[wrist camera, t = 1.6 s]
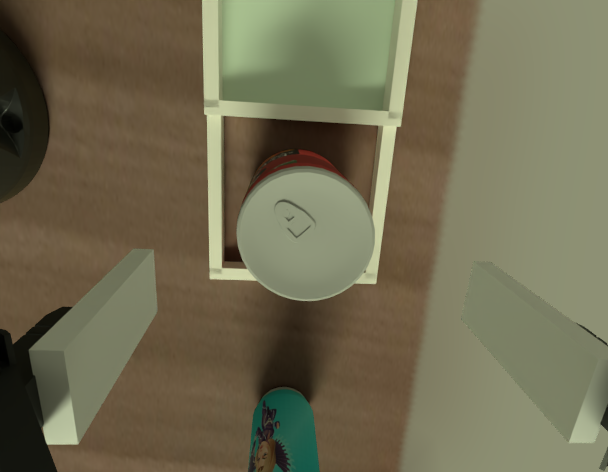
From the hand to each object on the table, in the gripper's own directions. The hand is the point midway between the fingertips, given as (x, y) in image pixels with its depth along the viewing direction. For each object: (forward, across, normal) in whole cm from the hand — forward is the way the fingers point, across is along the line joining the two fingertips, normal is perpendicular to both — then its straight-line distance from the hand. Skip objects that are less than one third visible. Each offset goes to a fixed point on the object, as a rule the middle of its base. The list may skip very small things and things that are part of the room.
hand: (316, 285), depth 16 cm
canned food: (+17, 0, 0) cm, 17 cm away
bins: (+17, 0, +7) cm, 18 cm away
